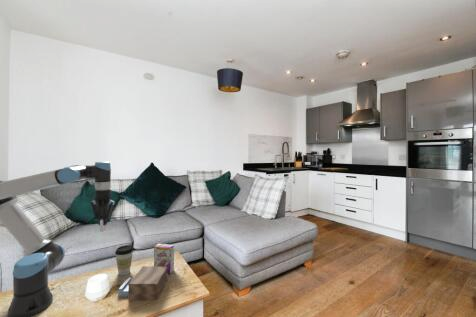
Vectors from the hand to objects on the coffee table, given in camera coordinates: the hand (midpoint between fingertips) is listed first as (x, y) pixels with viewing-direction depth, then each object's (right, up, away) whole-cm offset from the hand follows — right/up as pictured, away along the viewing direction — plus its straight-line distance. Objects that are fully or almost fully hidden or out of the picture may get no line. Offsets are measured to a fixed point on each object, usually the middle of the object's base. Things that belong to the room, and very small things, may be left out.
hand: (102, 230), depth 120 cm
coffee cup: (+6, -30, +11) cm, 32 cm away
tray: (+22, -30, -6) cm, 38 cm away
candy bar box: (+30, -30, +12) cm, 44 cm away
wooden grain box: (+29, -30, -6) cm, 42 cm away
